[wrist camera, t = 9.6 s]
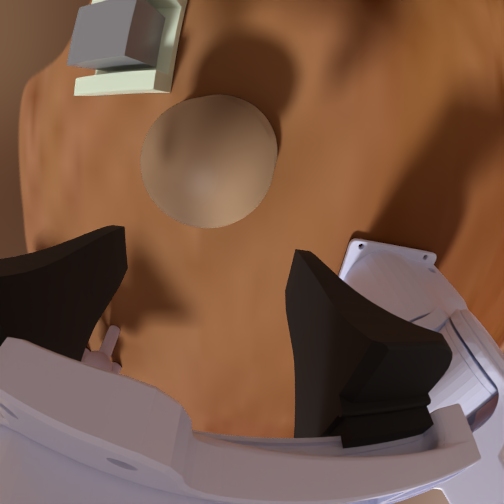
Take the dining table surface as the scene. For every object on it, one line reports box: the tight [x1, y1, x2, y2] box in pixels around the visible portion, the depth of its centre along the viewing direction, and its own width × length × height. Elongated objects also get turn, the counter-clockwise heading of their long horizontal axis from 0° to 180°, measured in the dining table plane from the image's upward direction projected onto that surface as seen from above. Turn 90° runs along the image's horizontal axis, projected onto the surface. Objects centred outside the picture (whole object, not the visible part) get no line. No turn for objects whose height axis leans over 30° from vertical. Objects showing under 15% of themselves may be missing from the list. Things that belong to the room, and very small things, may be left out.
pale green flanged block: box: [74, 0, 187, 96], centre depth 13 cm, size 6×8×4 cm
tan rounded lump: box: [140, 95, 277, 228], centre depth 16 cm, size 8×8×6 cm
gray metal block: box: [67, 0, 165, 71], centre depth 11 cm, size 4×4×5 cm
